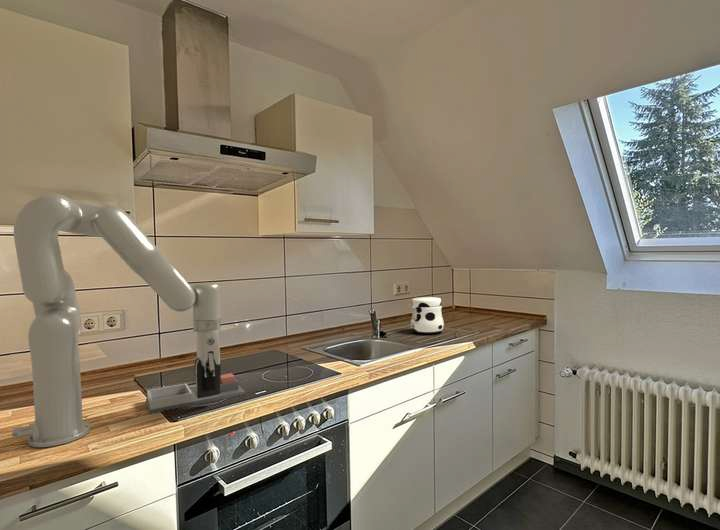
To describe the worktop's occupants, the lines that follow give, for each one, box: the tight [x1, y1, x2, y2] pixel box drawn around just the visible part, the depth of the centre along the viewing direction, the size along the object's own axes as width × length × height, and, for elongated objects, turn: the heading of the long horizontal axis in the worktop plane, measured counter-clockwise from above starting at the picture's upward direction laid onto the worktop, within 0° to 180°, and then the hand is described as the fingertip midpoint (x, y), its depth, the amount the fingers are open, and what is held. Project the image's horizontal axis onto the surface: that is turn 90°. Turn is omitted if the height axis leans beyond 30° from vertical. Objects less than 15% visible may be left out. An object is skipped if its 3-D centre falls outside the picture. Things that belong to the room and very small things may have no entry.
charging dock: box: [145, 378, 246, 415], centre depth 128 cm, size 27×12×4 cm, turn 121°
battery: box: [193, 357, 222, 398], centre depth 120 cm, size 7×4×11 cm, turn 130°
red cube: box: [220, 372, 236, 384], centre depth 132 cm, size 4×4×4 cm
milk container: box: [410, 296, 445, 335], centre depth 219 cm, size 17×17×18 cm
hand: (207, 387), depth 120 cm, fingers closed on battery, 4 cm apart
